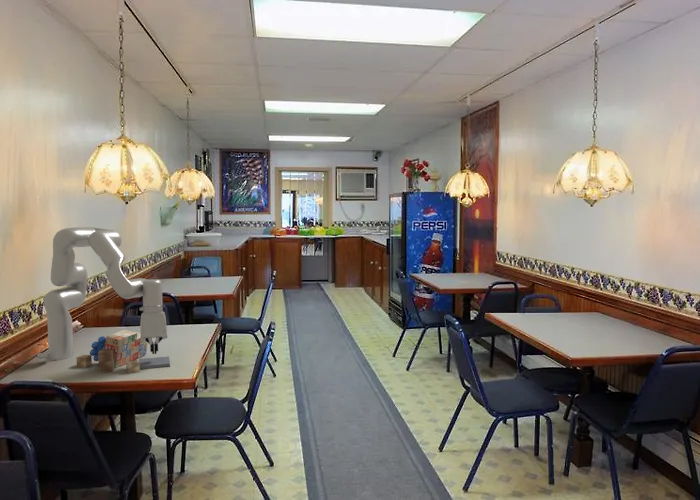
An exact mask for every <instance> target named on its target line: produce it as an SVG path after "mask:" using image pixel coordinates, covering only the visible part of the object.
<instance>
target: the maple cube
mask: <svg viewBox="0 0 700 500" xmlns="http://www.w3.org/2000/svg"><path fill="white" fill-rule="evenodd" d="M125 366H126V372H127V373H128V374H135V373H139V372H141V371H140V370H141V369H140V365H139V359H135V360H132V361H126V364H125Z"/></svg>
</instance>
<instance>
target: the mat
mask: <svg viewBox="0 0 700 500" xmlns="http://www.w3.org/2000/svg"><path fill="white" fill-rule="evenodd" d="M138 361H139V365H140V370H146V369H147V370H148V369H156V368H166V367H167V368H168V367H169V368H170V367H171V360H170V356H169V355H168V356H160V357H158V356H157V357H145V358H138Z"/></svg>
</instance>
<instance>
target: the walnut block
mask: <svg viewBox="0 0 700 500" xmlns="http://www.w3.org/2000/svg"><path fill="white" fill-rule="evenodd" d="M97 362H98V373H99V374H100V373H101V374H102V373H112V372H114V370H115V368H114V349H102V350H100V351H99V352H98V361H97Z"/></svg>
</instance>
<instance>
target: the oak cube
mask: <svg viewBox="0 0 700 500" xmlns="http://www.w3.org/2000/svg"><path fill="white" fill-rule="evenodd" d="M92 358H93V356H91V355H90V354H81V355H79V356H76V359H75V360H76V367H77V368H87V367H90V366H91V365H93V362H92Z"/></svg>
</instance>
